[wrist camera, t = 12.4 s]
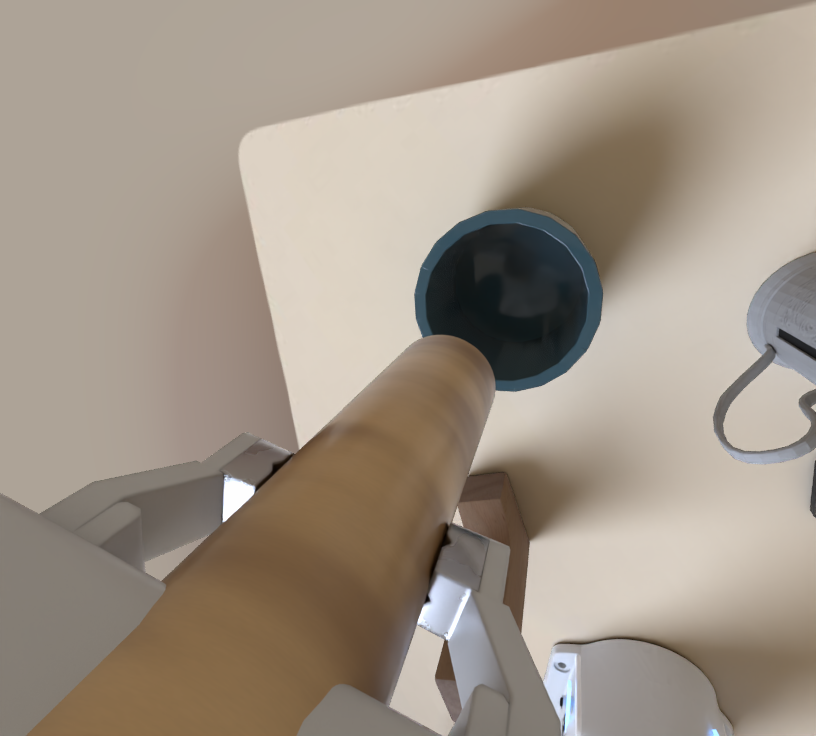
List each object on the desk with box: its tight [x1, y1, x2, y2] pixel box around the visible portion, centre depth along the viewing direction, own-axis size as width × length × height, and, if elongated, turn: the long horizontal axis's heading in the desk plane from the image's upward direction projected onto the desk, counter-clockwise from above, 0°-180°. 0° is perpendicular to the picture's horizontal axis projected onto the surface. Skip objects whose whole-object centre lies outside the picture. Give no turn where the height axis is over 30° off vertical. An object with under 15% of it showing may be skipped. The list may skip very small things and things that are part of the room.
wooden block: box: [435, 472, 530, 722], centre depth 36 cm, size 9×4×18 cm, turn 21°
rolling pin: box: [26, 335, 496, 736], centre depth 11 cm, size 4×4×16 cm
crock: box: [414, 207, 603, 392], centre depth 31 cm, size 12×12×10 cm
